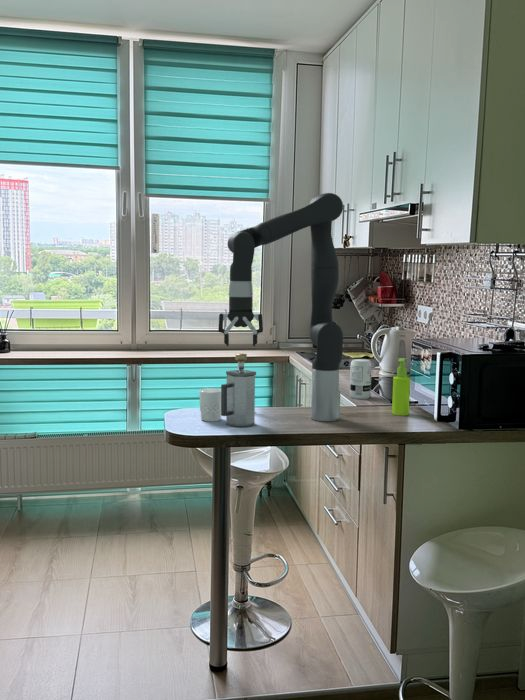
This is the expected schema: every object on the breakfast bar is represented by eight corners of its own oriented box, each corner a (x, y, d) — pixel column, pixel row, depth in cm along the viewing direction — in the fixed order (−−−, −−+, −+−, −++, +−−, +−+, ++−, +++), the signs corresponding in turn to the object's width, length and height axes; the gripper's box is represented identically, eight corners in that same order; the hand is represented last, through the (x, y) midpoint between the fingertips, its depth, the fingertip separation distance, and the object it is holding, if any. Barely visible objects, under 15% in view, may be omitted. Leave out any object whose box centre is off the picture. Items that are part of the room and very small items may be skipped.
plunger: (240, 413, 221) (241, 353, 218) (248, 414, 218) (249, 354, 216) (232, 414, 218) (233, 354, 216) (240, 416, 216) (240, 355, 213)
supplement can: (347, 395, 270) (348, 358, 268) (367, 395, 271) (368, 358, 269) (352, 399, 262) (353, 361, 260) (372, 399, 263) (374, 361, 261)
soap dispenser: (389, 415, 235) (391, 359, 232) (393, 411, 241) (395, 356, 239) (406, 416, 233) (408, 360, 230) (410, 412, 239) (412, 357, 237)
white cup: (219, 422, 221) (219, 392, 219) (196, 421, 222) (196, 391, 221) (225, 417, 228) (225, 388, 227) (203, 416, 230) (203, 387, 229)
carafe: (243, 419, 226) (244, 368, 224) (262, 424, 219) (263, 371, 217) (213, 425, 217) (213, 372, 214) (232, 430, 210) (232, 375, 208)
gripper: (263, 295, 217) (262, 344, 219) (219, 294, 217) (219, 344, 219) (262, 296, 210) (262, 347, 212) (217, 295, 210) (217, 347, 212)
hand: (240, 345), depth 215 cm, fingers open, 8 cm apart
